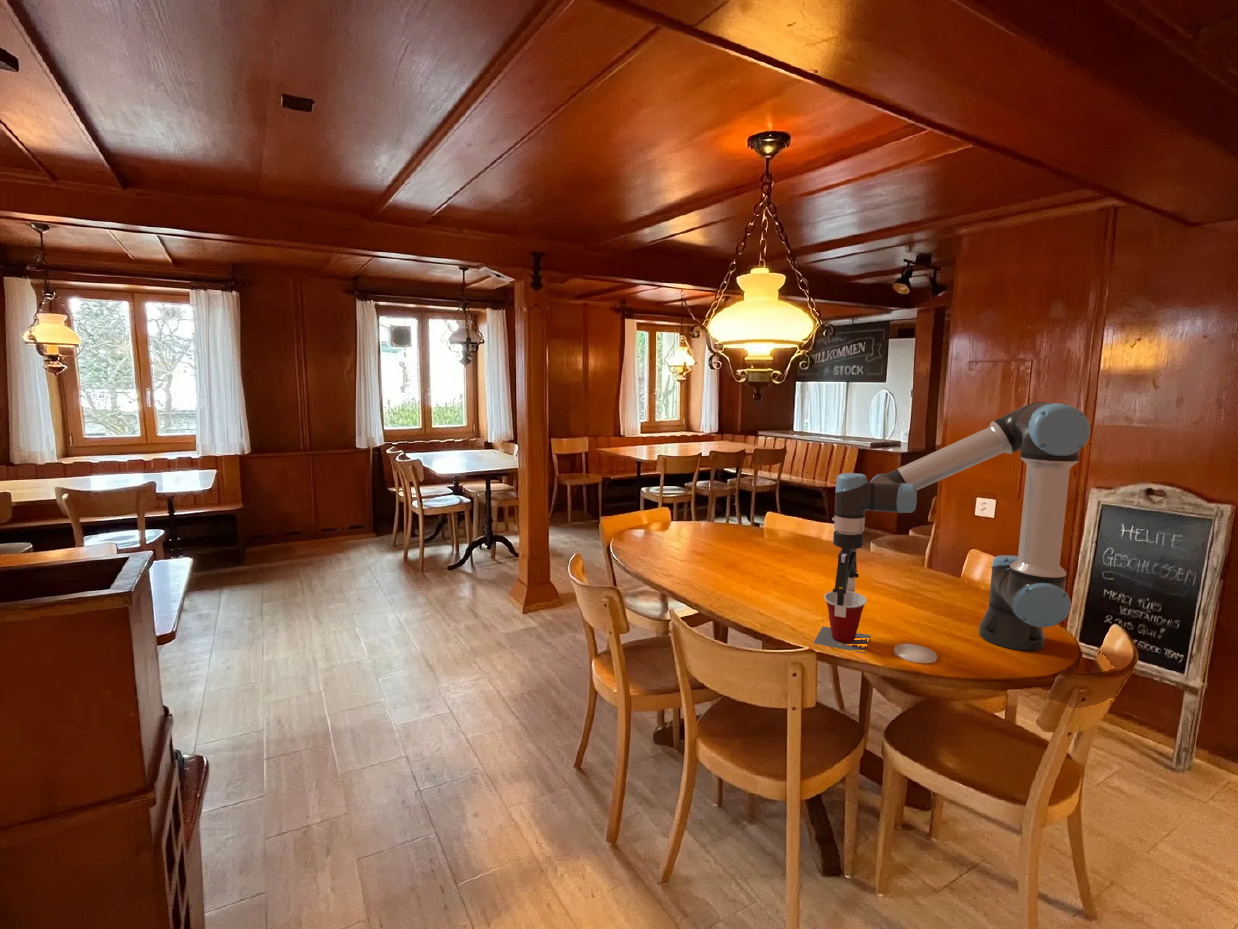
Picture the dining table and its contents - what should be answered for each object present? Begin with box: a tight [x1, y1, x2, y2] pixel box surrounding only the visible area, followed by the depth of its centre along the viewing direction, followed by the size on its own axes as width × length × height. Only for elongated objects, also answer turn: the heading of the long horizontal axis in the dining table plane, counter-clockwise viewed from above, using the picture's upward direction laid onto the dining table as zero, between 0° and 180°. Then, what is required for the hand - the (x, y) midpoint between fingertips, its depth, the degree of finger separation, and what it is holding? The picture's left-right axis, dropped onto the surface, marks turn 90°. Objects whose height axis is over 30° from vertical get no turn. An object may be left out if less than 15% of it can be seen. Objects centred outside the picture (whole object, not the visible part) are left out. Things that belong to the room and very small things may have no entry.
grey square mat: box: [812, 625, 872, 655], centre depth 169 cm, size 13×13×1 cm
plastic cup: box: [823, 590, 868, 643], centre depth 168 cm, size 11×11×12 cm
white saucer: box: [893, 643, 938, 665], centre depth 159 cm, size 10×10×1 cm
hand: (844, 608), depth 167 cm, fingers open, 13 cm apart
